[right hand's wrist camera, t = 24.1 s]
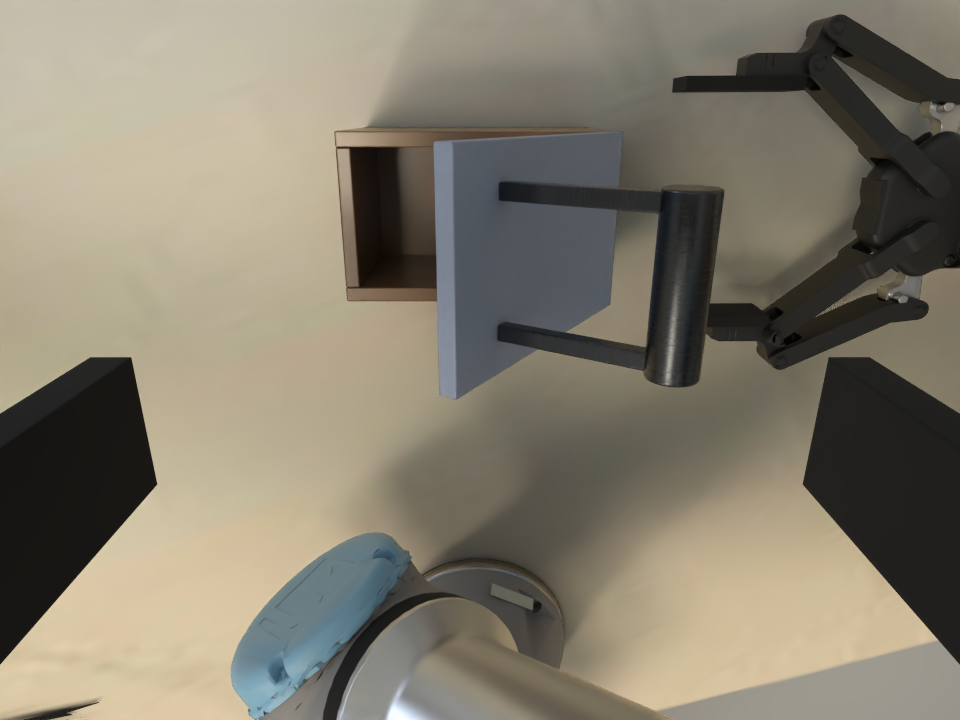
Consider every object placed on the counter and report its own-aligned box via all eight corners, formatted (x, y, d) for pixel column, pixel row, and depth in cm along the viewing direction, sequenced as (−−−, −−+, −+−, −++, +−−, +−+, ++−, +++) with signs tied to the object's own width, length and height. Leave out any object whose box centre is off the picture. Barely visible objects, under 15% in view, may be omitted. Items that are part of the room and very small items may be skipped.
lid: (438, 395, 25) (665, 456, 21) (432, 141, 22) (701, 148, 17) (597, 302, 37) (760, 328, 33) (608, 131, 34) (791, 134, 30)
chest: (373, 264, 47) (346, 301, 37) (365, 127, 44) (333, 130, 34) (578, 264, 47) (602, 301, 37) (585, 127, 44) (614, 131, 34)
